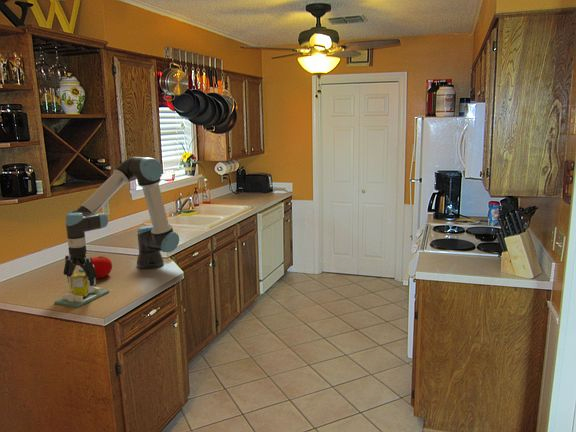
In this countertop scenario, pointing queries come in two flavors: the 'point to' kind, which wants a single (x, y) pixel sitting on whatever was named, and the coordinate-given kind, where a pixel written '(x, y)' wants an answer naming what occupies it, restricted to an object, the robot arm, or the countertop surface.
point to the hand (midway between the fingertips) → (81, 290)
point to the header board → (80, 298)
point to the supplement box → (80, 284)
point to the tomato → (102, 266)
